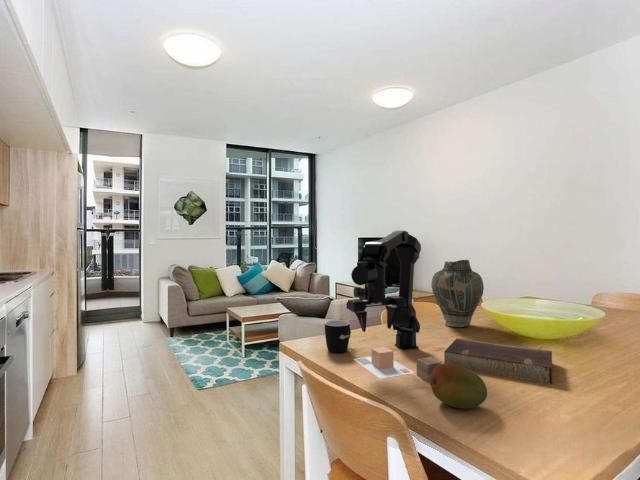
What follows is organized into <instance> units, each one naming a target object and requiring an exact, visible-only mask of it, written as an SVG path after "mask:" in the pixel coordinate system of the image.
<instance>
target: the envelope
mask: <svg viewBox="0 0 640 480" xmlns="http://www.w3.org/2000/svg"><path fill="white" fill-rule="evenodd" d="M353 360H354V361H355V362H356V363H357V364H359V365H360V366H361V367H363V368H365V370H367V371H368V372H369V373H371V374H373V376H375V377H377V378H378V379H379V380H381V379H387V378H392V377H398V376H399V377H400V376H407V375H412V374H415V371H413V370H411V369H410V368H408V367H406V366H405V365H403V364H402V363H400V362H398V361H396V360H394V359H393V363H394V367H392V368H385V369H378V368H377V367H375V366H374V365H372V355H371V356H366V357H365V356H364V357H358V358H353Z"/></svg>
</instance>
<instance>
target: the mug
mask: <svg viewBox="0 0 640 480" xmlns="http://www.w3.org/2000/svg"><path fill="white" fill-rule="evenodd" d="M351 334H352V330H351V325H350V322H349V321H347V320H343V319H342V320H341V319H335V320H334V319H333V320H332V319H331V320H328V321H325V323H324V335H325V343H326V348H327V351H328V352H329V353H332V354H344V353H346V352H347V350H348V348H349V343H350V338H351Z"/></svg>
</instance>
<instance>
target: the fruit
mask: <svg viewBox="0 0 640 480" xmlns="http://www.w3.org/2000/svg"><path fill="white" fill-rule="evenodd" d="M429 384H430V387H431V391H432V393H433V394H434V397H435V398H436V399H438V400H439V401H440V402H441V403H443V404H445V405H447V406H450V407H453V408H456V409H472V408H476V407H478V406H480V405H482V404H483V403H485V401H486V400H487V398H488V388H487V385H486V384H485V381H484V380H483V379H482V378H481V377H480V375H478V374H477V373H475V371H474V370H470V369H468V368H465V367H463V366H460V365H457V364H450V363H445V364H444V363H442V364H441V365H439V366H437V367H436V368H435V369H434V370H433V371H432V373H431V378H430V381H429Z"/></svg>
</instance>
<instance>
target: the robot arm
mask: <svg viewBox="0 0 640 480" xmlns="http://www.w3.org/2000/svg"><path fill="white" fill-rule="evenodd" d="M409 233H410V232H408V230H407V231H406V230H394V231H392V233H390V234H388V235H386V236H385V237H383V238H381V239H379V240H371V241H367V242H365V244H364V245H363V246H362V251H361V253H360V255H359V258H358V261H357V263H356V266H355V267H354V268H353V270H351V271H352V272H351V274H350V275H351V280H352V281H353V283H354V284H356V285H358V287H354V288H353V297H354V298H355V299H347V302H346V304H345V305H346V309H347V310H350V311H351V312H352V313H354V314H355V315H356V317H357V320H358V322H359V325H360V328H361V330H362V332H363V333H366V329H367V317H368V316H367V315H368V311H366V309H367V308H370V307H371V308H372V307H380V306H384V307H385V310H386V327H387V329H389V330H391V328H392V330H393V331H396V334H395V343H394V346H395V347H397V348H399V349H401V350H403V351H407V350H417V349H419V347H420V346H418V345H417V333H420V330H421V324H420V321H419V320H418V318H417V311H416V310H415V307H414V305H413V292H414V290H413V287H414V272H415V264H416V262H417V261H418V260H419V258H420V253H421V250H422V245H421V243H420V241H419V240H418V238H417V237H415V236H413V235H411V234H409ZM393 249H394V250H396V256H397V258H398V260H399V262H400V271H399V290H398V295H387V296H386V289H389V288H388V286H389V285H387V284H386V267H387V266H388V263H387V262H386V260H387V258H388V257H390V256H391V255H390V254H391V253H390V252H391V251H392V250H393ZM359 286H364V288H363V289H362V288H361V287H359Z"/></svg>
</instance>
